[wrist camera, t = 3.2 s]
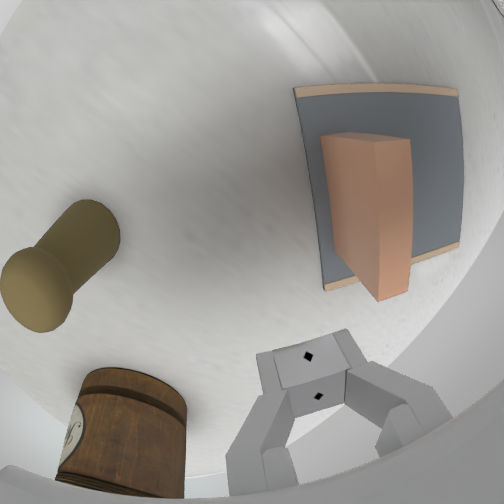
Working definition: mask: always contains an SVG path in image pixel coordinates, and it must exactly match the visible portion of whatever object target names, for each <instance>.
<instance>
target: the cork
mask: <svg viewBox="0 0 504 504" xmlns="http://www.w3.org/2000/svg"><path fill="white" fill-rule="evenodd" d="M119 243H120V229H119V227H118V224H117V221H116V219H115V217H114V216H113V214H112V213H111V212H110V210H109V209H107V208H106V207H105V206H104V205H102V204H101V203H99V202H96V201H93V200H80V201H78V202H75V203H73V204H72V205H71V206H70V207H69V208H68V209H67V210H66V211H65V212H64V213H63V214H62V215H61V216H60V218H59V219H58V220H57V221H56V222H55V223H54V224H53V225H52V226H51V227H50V229H49V230H48V231H47V232H46V233H45V234H44V235H43V237H42V238H41V239H40V240H39V241H38V243H37V244H36V245H35V246H34V247H28V248H25V249H23V250H20V251H18V252H16V253H15V254H13V255H12V256H11V257H10V258H9V260H8V261H7V262H6V264H5V266H4V267H3V269H2V274H1V279H0V291H1V295H2V298H3V301H4V303H5V305H6V307H7V309H8V310H9V312H10V313H11V315H12V316H13V317H14V318H15V319H16V320H17V321H18V322H19V323H20V324H21V325H23V326H24V327H26V328H27V329H29V330H31V331H34V332H38V333H44V332H50V331H53V330H55V329H56V328H57V327H59V326H60V325H61V324H62V323H64V321H65V319H66V318H67V316H68V314H69V312H70V310H71V306H72V302H73V294H74V293H75V292H76V291H77V290H78V289H79V288H80V287H81V286H82V285H83V284H84V283H86V282H87V281H88V280H89V279H90V278H91V277H92V276H93V275H94V274H95V273H96V272H97V271H98V270H100V269H101V268H102V267H103V266H104V265H105V264H106V263H107V262H108V261H110V260H111V259H112V258H113V257H114V255H115V254H116V252H117V250H118V247H119Z"/></svg>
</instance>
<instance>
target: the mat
mask: <svg viewBox="0 0 504 504" xmlns="http://www.w3.org/2000/svg"><path fill="white" fill-rule="evenodd" d="M293 91H294V96H295V100H296V105H297V110H298V115H299V119H300V124H301V130H302V135H303V140H304V146H305V151H306V157H307V163H308V169H309V175H310V181H311V188H312V195H313V202H314V209H315V216H316V224H317V232H318V240H319V249H320V258H321V268H322V279H323V289H324V291H325V292H326V291H329V290H333V289H336V288H340V287H343V286H346V285H350V284H353V283H356V282H360V280H359V279H358V278H357V276H356V275H355V274H354V273H353V272H352V270H351V269H350V268H349V267H348V266H347V265H346V263H345V262H344V261H343V260H342V259H341V258H340V257H339V255H338V254H337V253H336V252H335V251H334V240H333V229H332V219H331V210H330V202H329V193H328V186H327V178H326V171H325V165H324V158H323V152H322V146H321V140H320V135H327V134H335V133H343V132H356V133H367V134H376V135H384V136H392V137H399V138H406V139H410V145H411V158H412V175H413V236H412V253H411V265H412V264H415V263H418V262H420V261H423V260H426V259H429V258H432V257H434V256H437V255H440V254H443V253H445V252H448V251H451V250H453V249H456V248H458V247H459V244H460V241H459V240H460V231H461V221H462V208H463V186H464V160H463V138H462V126H461V116H460V108H459V100H458V97H459V96H458V90H457V89H451V88H444V87H435V86H425V85H413V84H393V83H350V84H330V85H317V86H306V87H297V88H293Z"/></svg>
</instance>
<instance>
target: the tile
mask: <svg viewBox="0 0 504 504" xmlns="http://www.w3.org/2000/svg"><path fill="white" fill-rule="evenodd" d="M320 140H321V146H322V152H323V158H324V165H325V171H326V178H327V186H328V193H329V202H330V210H331V219H332V229H333V240H334V251H335V252H336V253H337V254H338V255H339V257H340V258H341V259H342V260H343V261H344V262H345V263H346V265H347V266H348V267H349V268H350V269H351V270H352V272H353V273H354V274H355V275H356V276H357V278H358V279H359V280H360V281H361V282H362V284H363V285H364V286H365V287H366V288H367V290H368V291H369V292H370V293H371V294H372V296H373V297H374V298H375V299H376V301H377V302H379V301H382V300H385V299H388V298H391V297H393V296H396V295H399V294H401V293H404V292H407V291H408V285H409V276H410V266H411V253H412V236H413V175H412V158H411V145H410V139H406V138H399V137H392V136H384V135H376V134H367V133H356V132H343V133H335V134H327V135H320Z"/></svg>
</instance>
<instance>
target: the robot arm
mask: <svg viewBox="0 0 504 504" xmlns="http://www.w3.org/2000/svg"><path fill="white" fill-rule="evenodd" d="M493 1H494V3H495V4H496V6H497V7H498V9H499V11H500V12H501V13H502V15H503V16H504V0H493ZM256 360H257V365H258V370H259V375H260V380H261V385H262V390H263V395H259V396H258V398H257V400H256V402H255V404H254V405H253V407H252V409H251V411H250V413H249V415H248V417H247V418H246V420H245V422H244V424H243V426H242V427H241V429H240V431H239V433H238V435H237V436H236V438H235V440H234V442H233V443H232V445H231V447H230V449H229V450H228V452H227V454H226V465H227V476H228V486H229V495H230V496H229V497H218V498H198V499H168V498H149V497H137V496H128V495H120V494H114V493H107V492H102V491H96V490H91V489H87V488H82V487H78V486H74V485H70V484H66V483H62V482H59V481H55V480H52V479H49V478H46V477H43V476H40V475H37V474H34V473H31V472H28V471H26V470H24V469H21V468H19V467H16V466H12V465H8V466H6V467H4V468H3V469H2V470H0V504H504V379H503V380H502V381H501V382H500V383H499V384H497V385H496V386H495V387H494V388H493V389H491V390H490V391H489V392H488V393H487V394H485V395H484V396H483V397H482V398H480V399H479V400H477V401H476V402H475V403H474V404H472V405H471V406H469V407H468V408H467V409H465V410H464V411H463V412H461V413H459V414H458V415H457V416H455V417H454V418H453V417H452V415H451V414H450V412H449V411H448V410H447V408H446V406H445V405H444V403H443V402H442V400H441V399H440V397H439V396H438V394H437V393H436V391H435V390H434V388H433V387H431V386H429V385H426V384H424V383H421V382H419V381H417V380H414V379H412V378H410V377H407V376H405V375H403V374H400V373H398V372H396V371H393V370H391V369H389V368H387V367H385V366H382V365H380V364H378V363H376V362H373V361H370V362H367V360H366V359H365V357H364V355H363V354H362V352H361V350H360V349H359V347H358V345H357V344H356V342H355V340H354V339H353V337H352V336H351V334H350V332H349V331H348V330H347V329H343V330H340V331H337V332H334V333H331V334H328V335H325V336H321V337H318V338H315V339H312V340H309V341H305V342H302V343H299V344H295V345H291V346H287V347H283V348H279V349H275V350H272V351H267V352H263V353H258V354H256ZM342 403H345V405H347V406H348V407H350V408H351V409H353V410H354V411H356V412H357V413H359V414H360V415H362V416H364V417H365V418H367V419H368V420H369V421H371V422H372V423H374V424H375V425H377V426H378V427H380V428H382V431H381V434H380V436H379V439H378V441H377V443H376V446H375V448H376V450H377V452H378V454H379V457H380V458H378V459H375V460H373V461H370V462H368V463H365V464H363V465H361V466H358V467H355V468H352V469H350V470H347V471H344V472H341V473H338V474H335V475H332V476H329V477H326V478H322V479H319V480H316V481H311V482H308V483H304V484H300V485H299V482H298V479H297V475H296V472H295V469H294V466H293V463H292V460H291V457H290V454H289V451H288V449H287V448H284V447H285V445H286V442H287V440H288V437H289V434H290V431H291V429H292V426H293V423H294V420H295V419H294V418H297V417H301V416H304V415H307V414H310V413H313V412H316V411H319V410H323V409H326V408H330V407H333V406H336V405H339V404H342Z"/></svg>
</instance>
